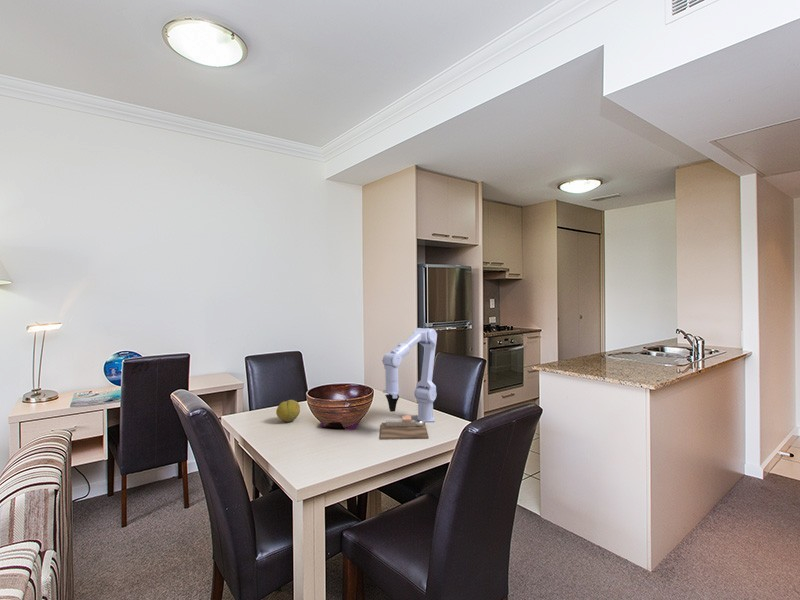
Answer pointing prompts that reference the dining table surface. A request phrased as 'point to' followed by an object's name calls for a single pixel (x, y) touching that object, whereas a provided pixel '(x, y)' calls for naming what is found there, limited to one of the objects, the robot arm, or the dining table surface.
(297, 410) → the fruit
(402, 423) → the link
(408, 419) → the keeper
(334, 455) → the dining table surface
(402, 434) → the base plate
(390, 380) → the robot arm
